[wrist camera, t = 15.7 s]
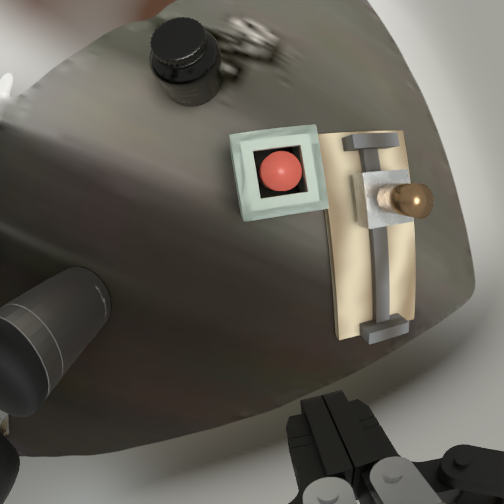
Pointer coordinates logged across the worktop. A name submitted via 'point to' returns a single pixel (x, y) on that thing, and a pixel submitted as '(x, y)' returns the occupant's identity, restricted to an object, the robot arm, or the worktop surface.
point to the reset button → (279, 171)
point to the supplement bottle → (186, 61)
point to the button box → (246, 176)
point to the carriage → (389, 198)
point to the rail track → (367, 240)
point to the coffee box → (4, 423)
